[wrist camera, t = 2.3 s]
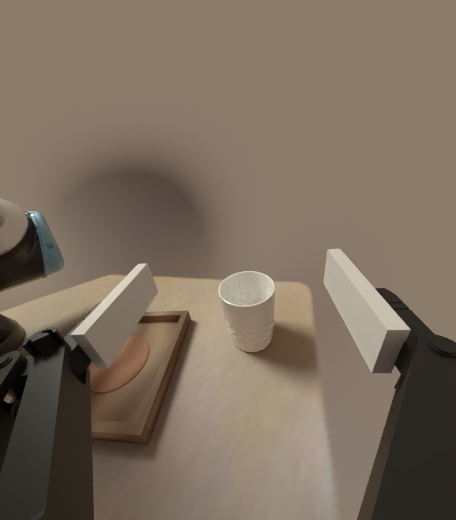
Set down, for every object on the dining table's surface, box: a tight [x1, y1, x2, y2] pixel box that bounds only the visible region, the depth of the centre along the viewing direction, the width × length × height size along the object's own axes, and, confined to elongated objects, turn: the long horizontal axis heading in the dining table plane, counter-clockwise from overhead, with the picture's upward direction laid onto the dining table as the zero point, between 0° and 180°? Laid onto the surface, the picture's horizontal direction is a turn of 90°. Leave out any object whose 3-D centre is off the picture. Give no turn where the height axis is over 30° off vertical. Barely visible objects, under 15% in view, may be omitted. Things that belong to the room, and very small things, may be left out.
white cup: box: [218, 271, 275, 352], centre depth 30 cm, size 8×8×10 cm
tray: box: [88, 311, 191, 444], centre depth 30 cm, size 18×18×2 cm
